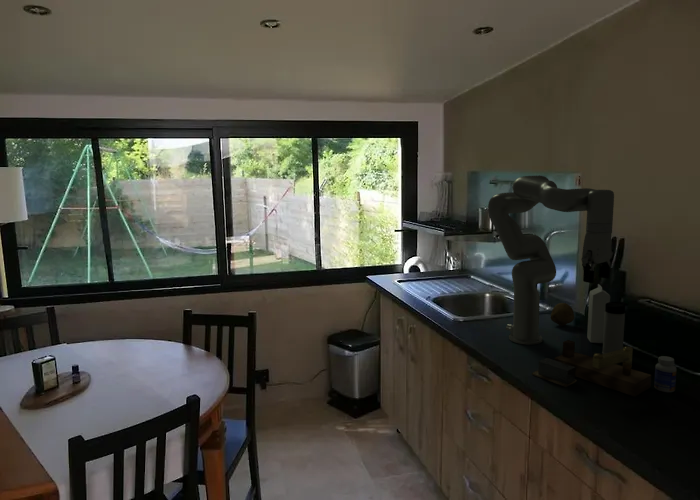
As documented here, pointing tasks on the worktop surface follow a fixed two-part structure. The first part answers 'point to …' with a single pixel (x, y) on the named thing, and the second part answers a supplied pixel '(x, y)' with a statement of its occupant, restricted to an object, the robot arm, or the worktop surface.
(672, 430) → the worktop surface
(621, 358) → the lever
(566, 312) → the natural sponge
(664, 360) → the pill bottle
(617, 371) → the plane body
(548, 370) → the black rectangular block
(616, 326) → the travel mug
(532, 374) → the cork pad
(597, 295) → the milk
